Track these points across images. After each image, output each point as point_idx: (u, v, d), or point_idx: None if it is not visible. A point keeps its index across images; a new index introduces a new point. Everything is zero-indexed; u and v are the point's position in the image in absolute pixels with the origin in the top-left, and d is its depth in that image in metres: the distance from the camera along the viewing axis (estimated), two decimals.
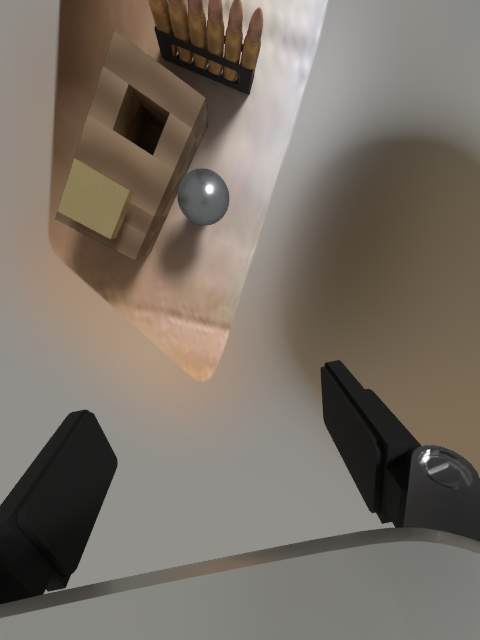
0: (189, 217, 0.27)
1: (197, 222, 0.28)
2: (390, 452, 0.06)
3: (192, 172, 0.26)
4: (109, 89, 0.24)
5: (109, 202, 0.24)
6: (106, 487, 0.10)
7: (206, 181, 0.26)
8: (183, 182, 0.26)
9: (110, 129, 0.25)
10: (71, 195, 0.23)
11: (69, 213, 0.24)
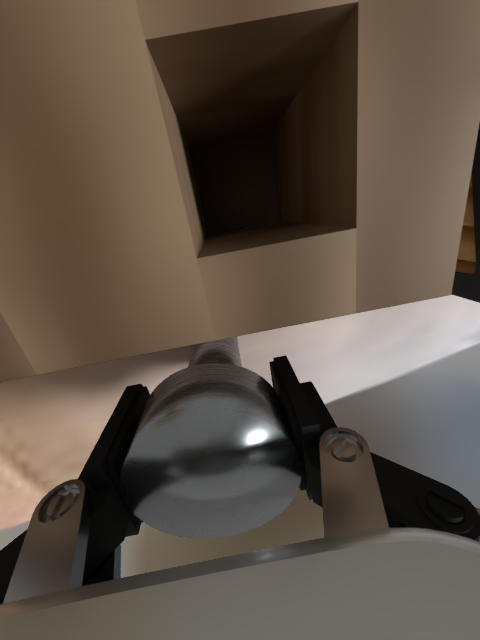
0: (128, 491, 0.07)
1: (136, 511, 0.08)
2: (304, 433, 0.07)
3: (253, 424, 0.07)
4: None
5: None
6: None
7: (259, 464, 0.07)
8: (203, 423, 0.07)
9: (137, 28, 0.05)
10: None
11: None
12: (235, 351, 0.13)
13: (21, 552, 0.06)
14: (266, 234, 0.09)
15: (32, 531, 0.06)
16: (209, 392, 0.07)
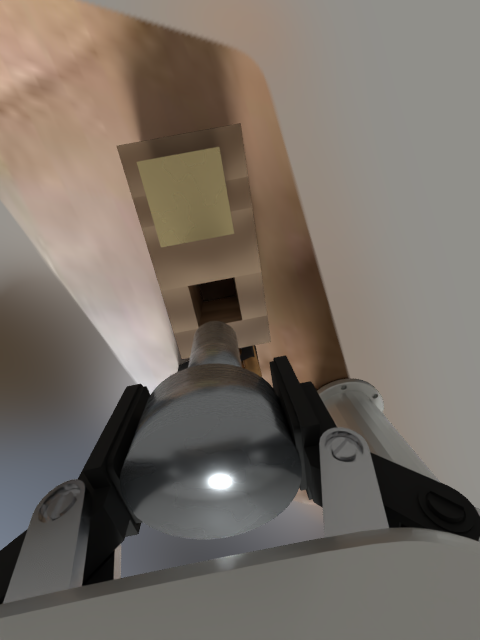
0: (128, 492, 0.07)
1: (136, 512, 0.08)
2: (304, 433, 0.07)
3: (253, 425, 0.07)
4: (254, 304, 0.24)
5: (171, 214, 0.16)
6: None
7: (259, 464, 0.07)
8: (203, 423, 0.07)
9: (236, 276, 0.22)
10: (214, 185, 0.16)
11: (204, 156, 0.15)
12: (235, 351, 0.13)
13: (21, 552, 0.06)
14: (196, 301, 0.26)
15: (32, 531, 0.06)
16: (209, 393, 0.07)
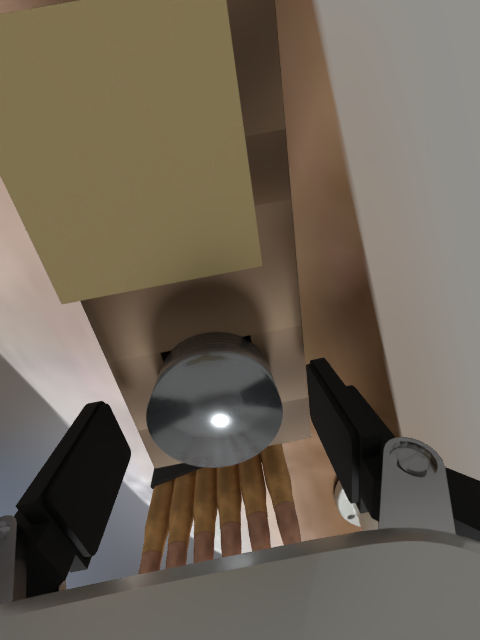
0: (151, 423, 0.10)
1: (157, 441, 0.10)
2: (364, 444, 0.07)
3: (245, 370, 0.09)
4: (285, 380, 0.13)
5: (78, 212, 0.05)
6: (121, 476, 0.10)
7: (250, 403, 0.10)
8: (208, 368, 0.09)
9: (254, 333, 0.12)
10: (208, 121, 0.05)
11: (172, 13, 0.04)
12: None
13: None
14: None
15: None
16: (212, 349, 0.10)
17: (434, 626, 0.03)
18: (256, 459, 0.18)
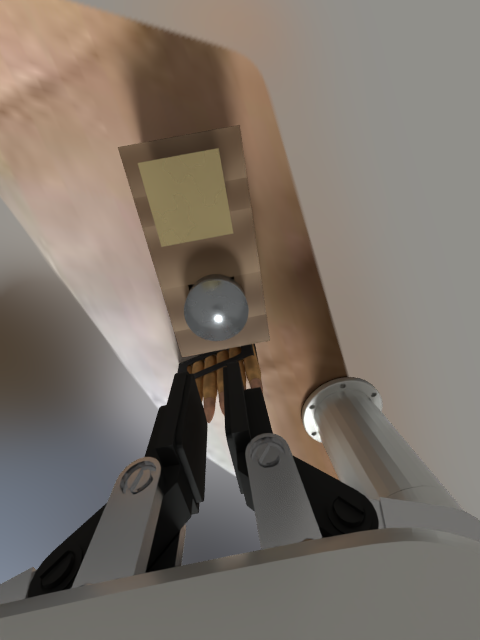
0: (186, 313, 0.21)
1: (188, 323, 0.21)
2: (234, 439, 0.07)
3: (229, 285, 0.20)
4: (253, 303, 0.24)
5: (171, 214, 0.17)
6: (205, 440, 0.11)
7: (232, 303, 0.21)
8: (213, 284, 0.20)
9: (235, 275, 0.23)
10: (214, 185, 0.16)
11: (204, 157, 0.16)
12: None
13: (102, 516, 0.06)
14: None
15: (113, 498, 0.06)
16: (215, 278, 0.21)
17: (434, 626, 0.03)
18: (241, 365, 0.29)
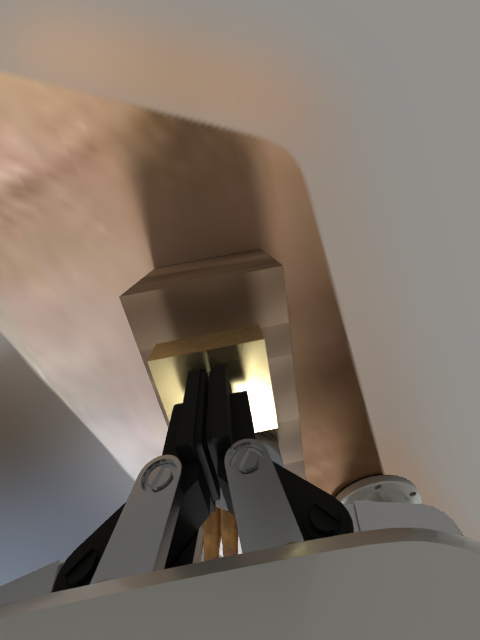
0: None
1: None
2: (215, 444, 0.07)
3: None
4: (288, 450, 0.19)
5: None
6: None
7: None
8: None
9: None
10: (255, 380, 0.11)
11: (243, 350, 0.11)
12: None
13: (123, 511, 0.06)
14: None
15: (134, 494, 0.06)
16: None
17: (434, 626, 0.03)
18: None
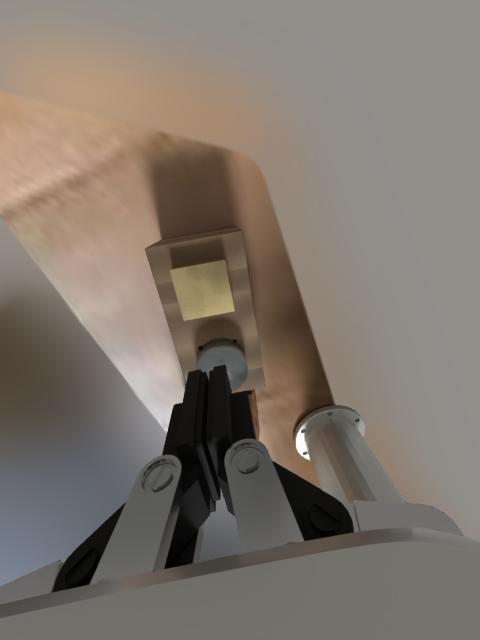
0: None
1: None
2: (215, 445, 0.07)
3: (233, 352, 0.25)
4: (252, 359, 0.29)
5: (191, 300, 0.24)
6: None
7: (235, 365, 0.26)
8: (219, 351, 0.25)
9: (237, 338, 0.28)
10: (221, 282, 0.23)
11: (215, 265, 0.23)
12: None
13: (123, 511, 0.06)
14: None
15: (134, 494, 0.06)
16: (221, 345, 0.26)
17: (434, 626, 0.03)
18: None
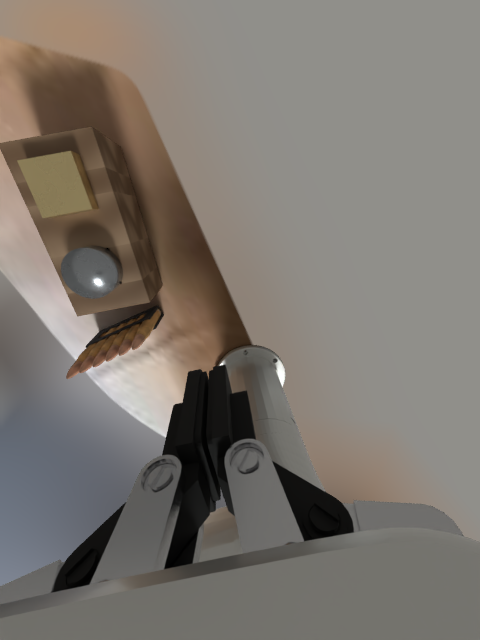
0: (63, 274, 0.27)
1: (66, 283, 0.27)
2: (215, 444, 0.07)
3: (95, 252, 0.26)
4: (129, 270, 0.30)
5: (45, 195, 0.25)
6: None
7: (100, 267, 0.27)
8: (81, 250, 0.26)
9: (110, 246, 0.28)
10: (72, 175, 0.24)
11: (62, 157, 0.24)
12: None
13: (123, 511, 0.06)
14: None
15: (134, 494, 0.06)
16: (86, 247, 0.27)
17: (434, 626, 0.03)
18: (137, 327, 0.35)
